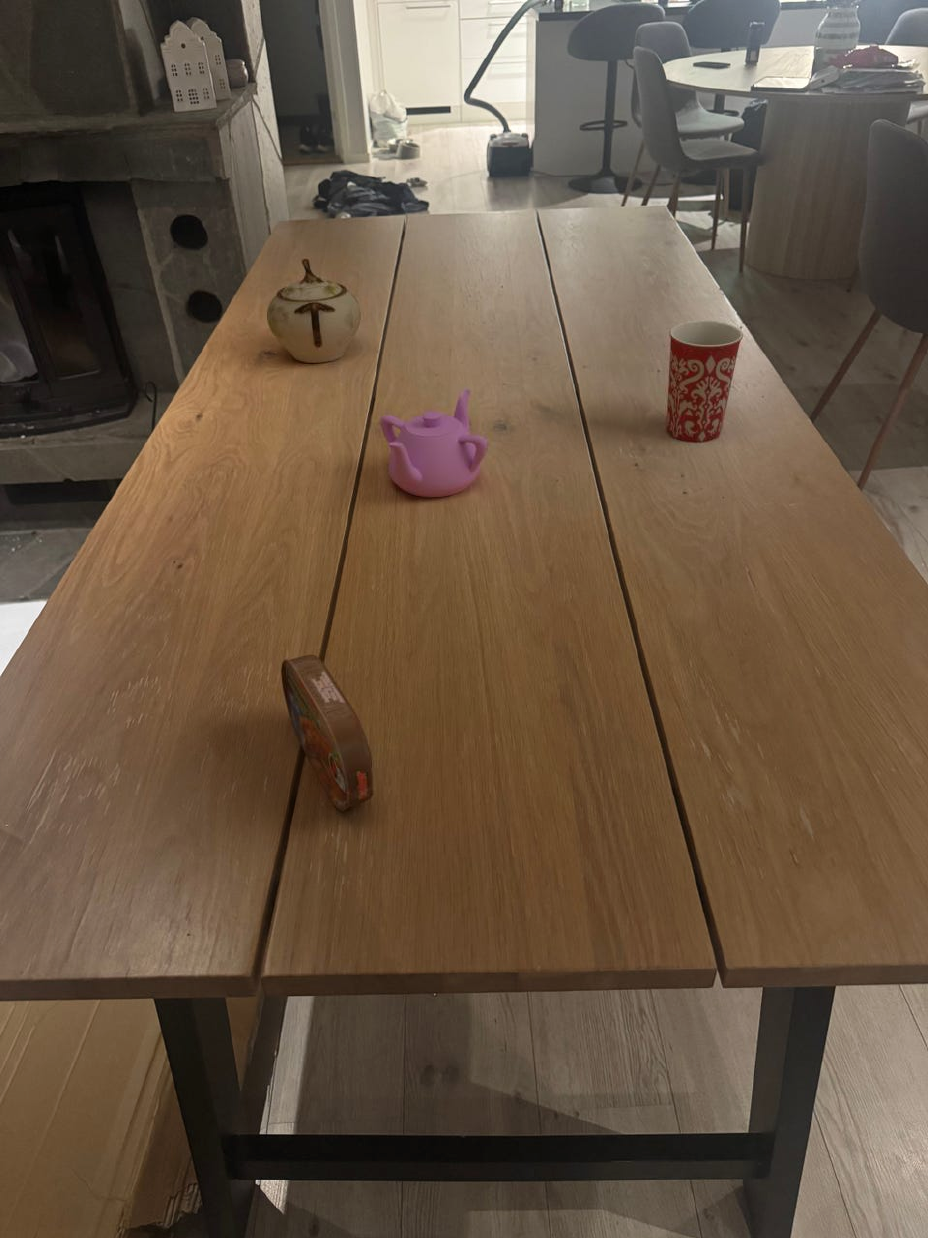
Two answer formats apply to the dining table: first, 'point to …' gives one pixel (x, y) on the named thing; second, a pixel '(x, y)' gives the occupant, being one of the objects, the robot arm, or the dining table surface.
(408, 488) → the teapot
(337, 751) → the tin
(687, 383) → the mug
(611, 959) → the dining table surface
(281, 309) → the sugar bowl
